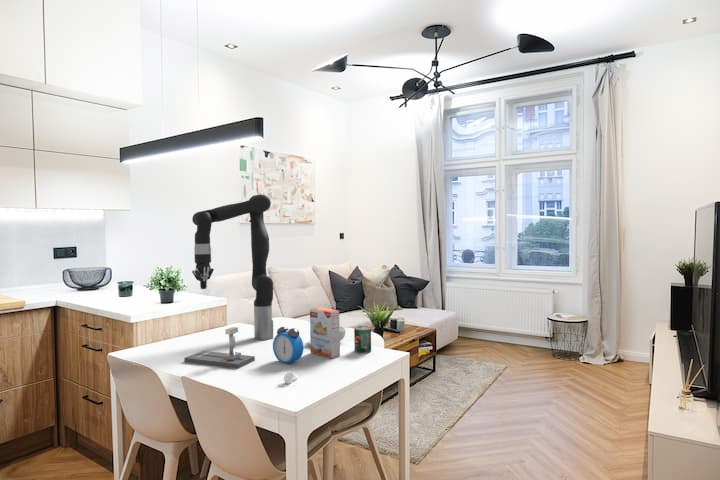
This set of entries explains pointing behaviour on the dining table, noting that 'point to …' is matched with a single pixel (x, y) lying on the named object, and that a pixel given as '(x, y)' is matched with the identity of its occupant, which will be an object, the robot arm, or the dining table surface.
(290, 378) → the teacup and saucer
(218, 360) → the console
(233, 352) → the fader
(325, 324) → the cracker box
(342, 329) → the cereal bowl
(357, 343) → the canned tomato
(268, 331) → the robot arm
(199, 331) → the dining table surface
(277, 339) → the alarm clock
